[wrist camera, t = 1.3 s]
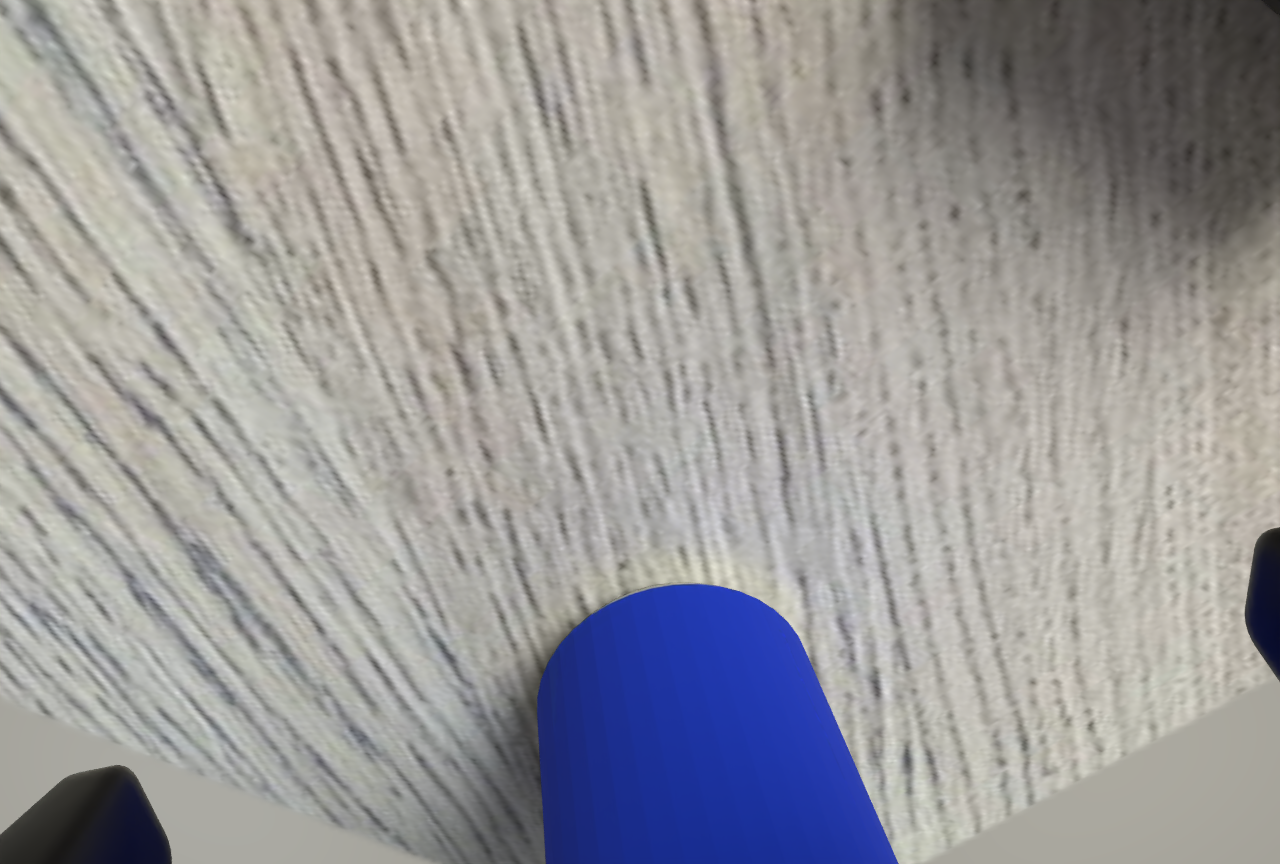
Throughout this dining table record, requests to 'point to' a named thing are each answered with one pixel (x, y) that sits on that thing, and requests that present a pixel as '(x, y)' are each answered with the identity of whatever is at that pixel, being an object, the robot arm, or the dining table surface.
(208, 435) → the dining table surface
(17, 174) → the dining table surface
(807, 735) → the beverage can
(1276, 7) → the holder
